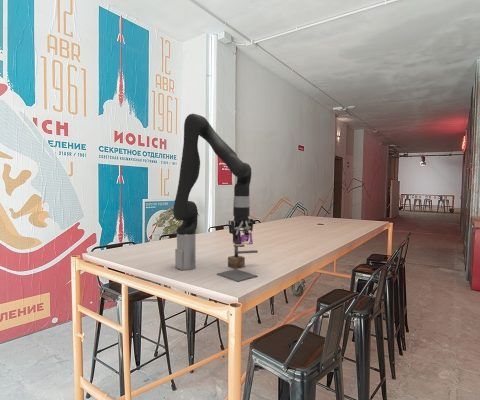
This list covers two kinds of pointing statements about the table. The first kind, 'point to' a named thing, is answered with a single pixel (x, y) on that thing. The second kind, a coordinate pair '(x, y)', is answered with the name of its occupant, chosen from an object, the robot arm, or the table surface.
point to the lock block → (236, 262)
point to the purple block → (243, 237)
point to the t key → (242, 251)
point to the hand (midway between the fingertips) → (240, 241)
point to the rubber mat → (237, 275)
